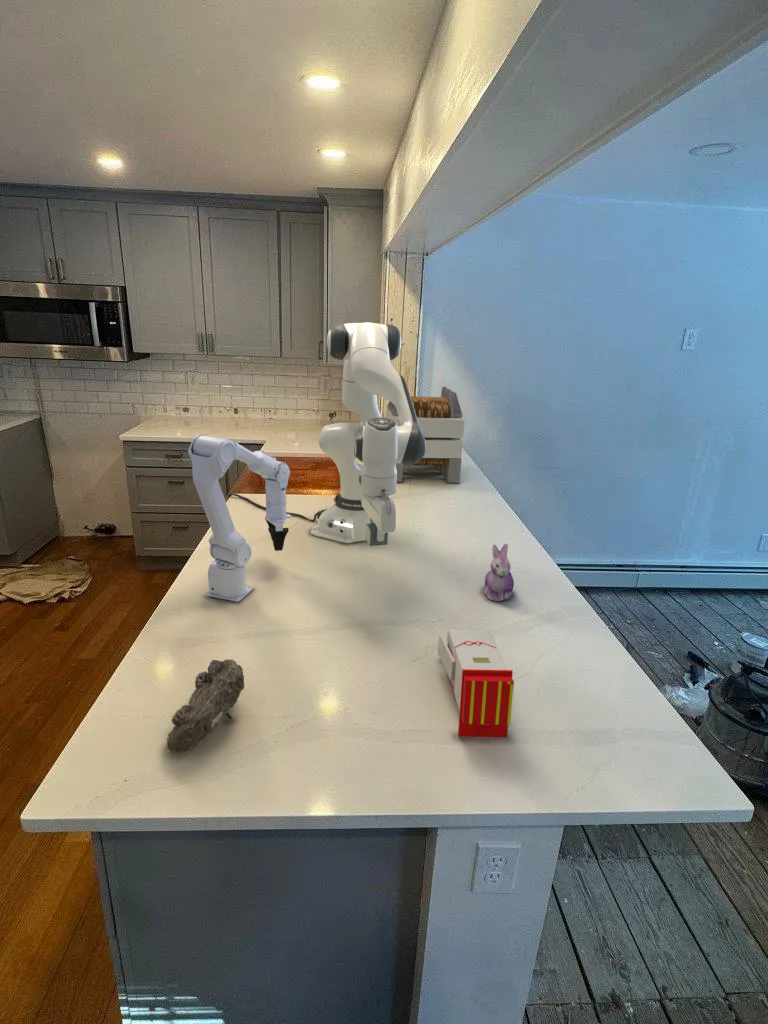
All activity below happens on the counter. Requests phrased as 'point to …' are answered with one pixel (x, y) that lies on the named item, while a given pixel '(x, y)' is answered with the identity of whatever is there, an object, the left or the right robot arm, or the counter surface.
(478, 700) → the toy
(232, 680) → the fossil
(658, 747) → the counter surface
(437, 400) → the transformer
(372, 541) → the block
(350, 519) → the right robot arm
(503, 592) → the figurine
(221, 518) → the left robot arm
